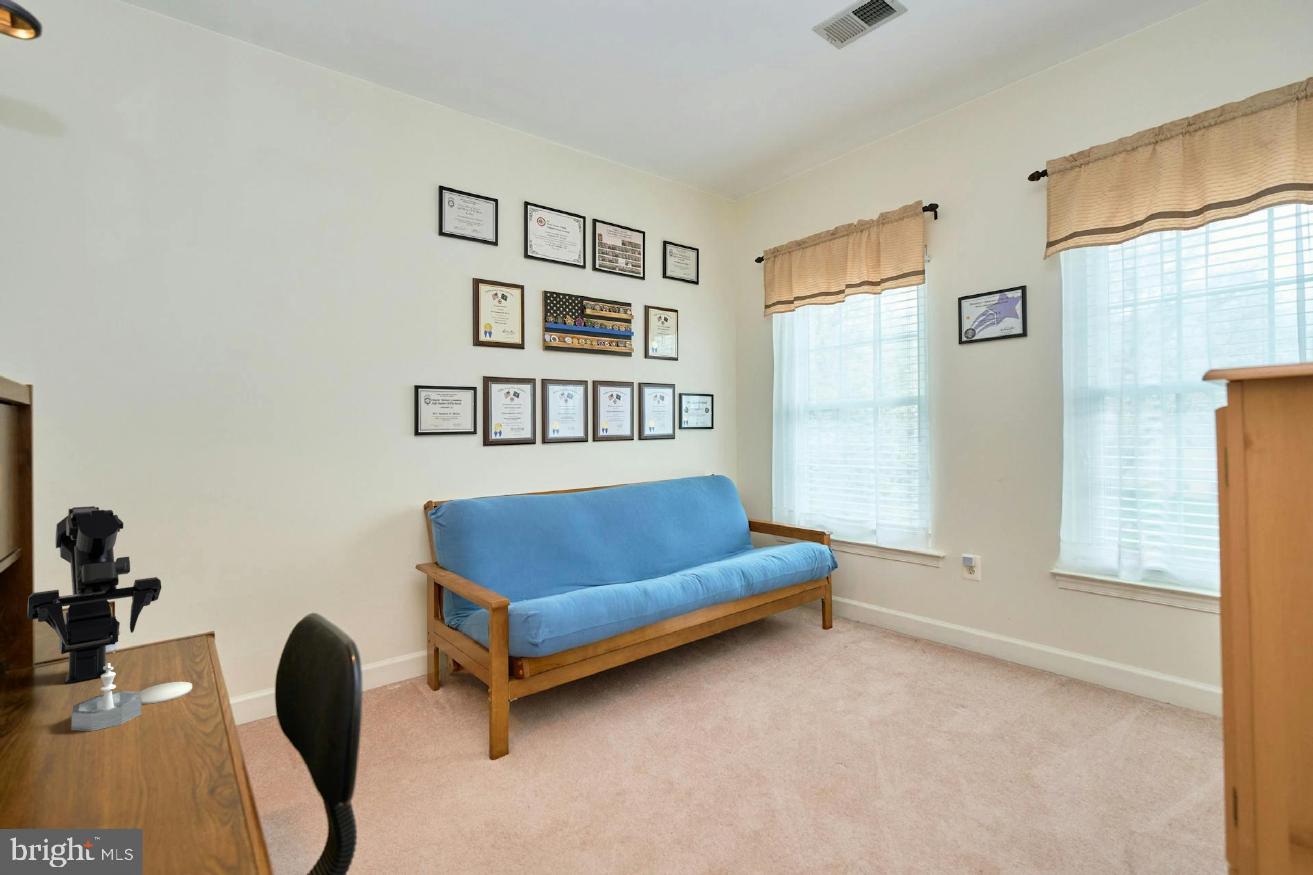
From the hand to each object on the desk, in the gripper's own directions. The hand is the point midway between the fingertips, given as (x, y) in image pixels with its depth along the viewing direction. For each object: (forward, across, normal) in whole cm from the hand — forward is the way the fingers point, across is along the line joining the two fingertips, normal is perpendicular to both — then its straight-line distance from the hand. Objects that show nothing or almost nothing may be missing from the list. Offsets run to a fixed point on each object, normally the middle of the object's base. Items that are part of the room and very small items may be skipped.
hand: (100, 637), depth 113 cm
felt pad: (+11, +9, +7) cm, 16 cm away
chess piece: (+15, 0, +3) cm, 15 cm away
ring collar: (+15, 0, +2) cm, 15 cm away
